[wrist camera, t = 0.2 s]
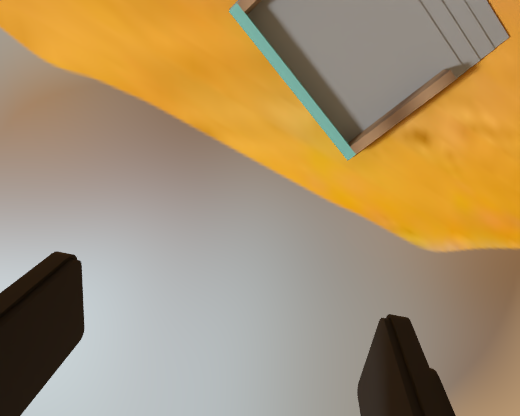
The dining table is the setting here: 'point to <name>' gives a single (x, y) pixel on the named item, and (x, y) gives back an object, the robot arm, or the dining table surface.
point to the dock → (368, 56)
